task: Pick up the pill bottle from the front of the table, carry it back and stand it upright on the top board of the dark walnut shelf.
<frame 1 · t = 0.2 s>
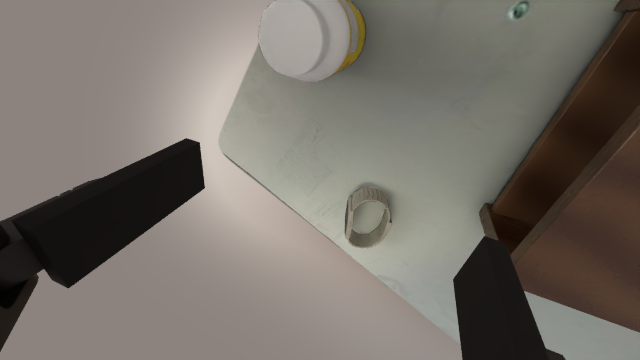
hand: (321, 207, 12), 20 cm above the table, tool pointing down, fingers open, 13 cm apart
pill bottle: (336, 35, 27), on the table
wristwatch: (369, 210, 36), on the table
shelf: (633, 150, 23), on the table
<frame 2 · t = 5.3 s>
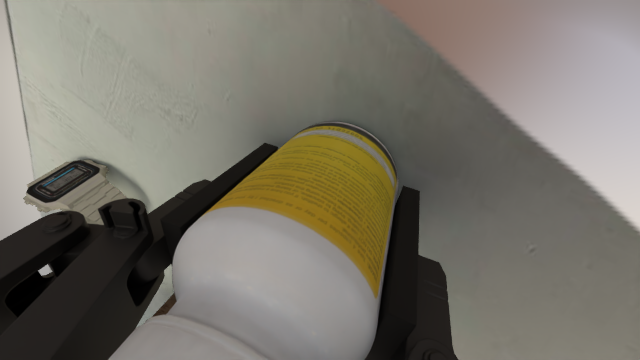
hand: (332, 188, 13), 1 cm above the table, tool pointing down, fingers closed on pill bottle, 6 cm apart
pill bottle: (340, 173, 15), on the table, touching gripper
wristwatch: (112, 190, 23), on the table
when the fingers open (12 cm above the table, at t = 12.4 s): pill bottle stays where it is, resting on shelf.
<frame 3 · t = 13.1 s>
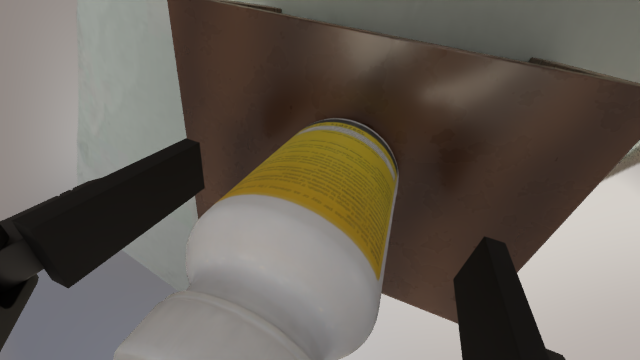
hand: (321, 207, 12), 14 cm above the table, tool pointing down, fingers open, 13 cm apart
pill bottle: (342, 168, 15), point 10 cm above the table, touching shelf
shelf: (367, 129, 24), on the table
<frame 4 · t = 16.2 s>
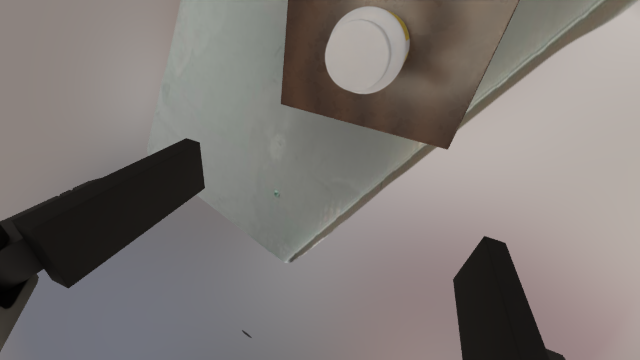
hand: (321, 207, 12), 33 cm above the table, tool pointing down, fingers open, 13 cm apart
pill bottle: (378, 47, 28), point 10 cm above the table, touching shelf
shelf: (386, 50, 37), on the table
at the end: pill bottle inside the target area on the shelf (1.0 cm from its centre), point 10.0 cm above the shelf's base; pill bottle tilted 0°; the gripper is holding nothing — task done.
